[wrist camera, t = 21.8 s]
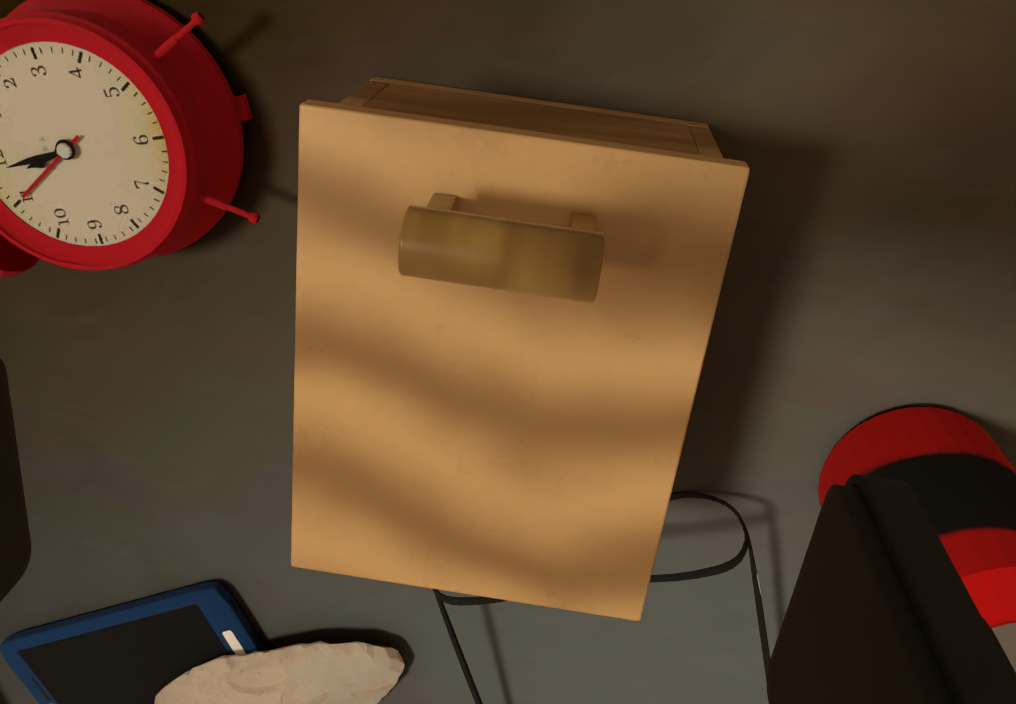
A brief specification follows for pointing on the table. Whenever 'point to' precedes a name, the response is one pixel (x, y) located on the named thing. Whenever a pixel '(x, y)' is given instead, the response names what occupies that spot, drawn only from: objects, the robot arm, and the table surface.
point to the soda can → (947, 496)
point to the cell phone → (130, 647)
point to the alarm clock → (111, 135)
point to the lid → (497, 352)
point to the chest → (536, 115)
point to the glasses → (654, 578)
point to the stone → (291, 676)
